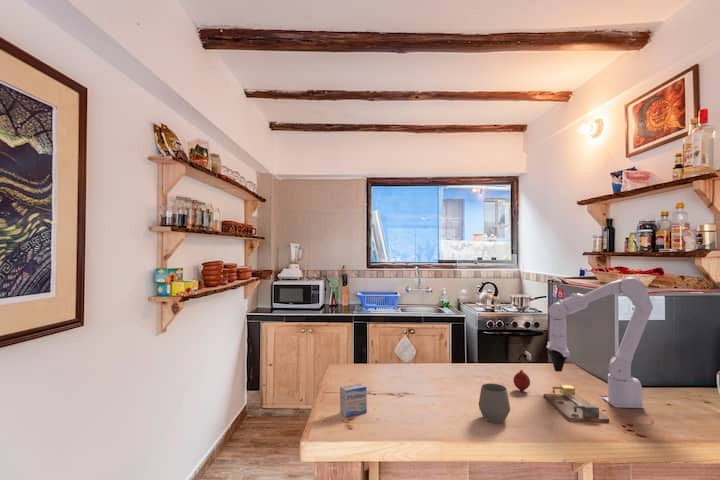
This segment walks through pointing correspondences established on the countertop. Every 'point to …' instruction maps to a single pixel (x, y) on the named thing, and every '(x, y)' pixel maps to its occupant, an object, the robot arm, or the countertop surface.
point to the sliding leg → (565, 389)
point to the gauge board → (576, 408)
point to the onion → (521, 380)
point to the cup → (494, 402)
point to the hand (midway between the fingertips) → (558, 371)
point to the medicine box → (353, 400)
